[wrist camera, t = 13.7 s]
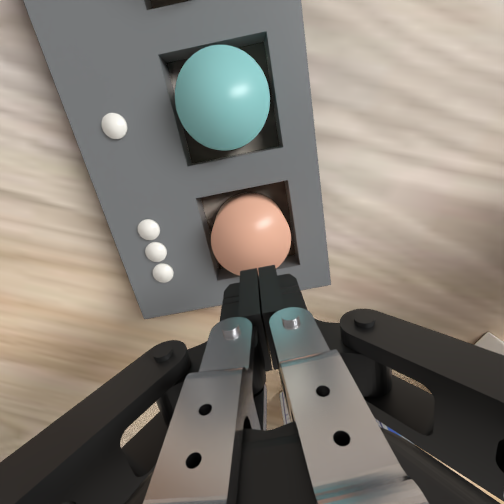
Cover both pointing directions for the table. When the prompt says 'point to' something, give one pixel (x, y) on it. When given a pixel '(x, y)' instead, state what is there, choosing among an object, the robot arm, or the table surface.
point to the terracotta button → (250, 233)
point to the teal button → (222, 97)
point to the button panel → (180, 135)
